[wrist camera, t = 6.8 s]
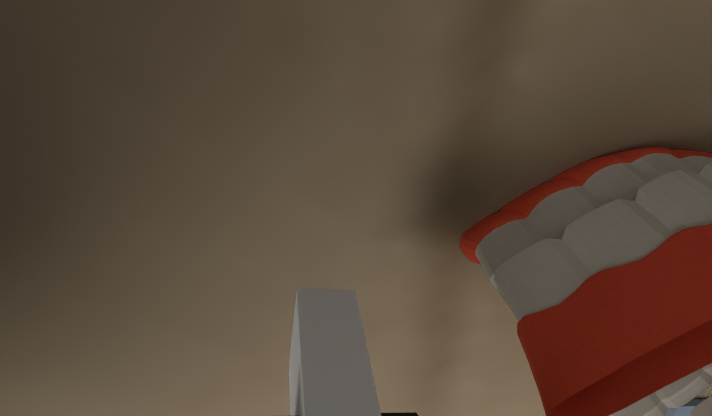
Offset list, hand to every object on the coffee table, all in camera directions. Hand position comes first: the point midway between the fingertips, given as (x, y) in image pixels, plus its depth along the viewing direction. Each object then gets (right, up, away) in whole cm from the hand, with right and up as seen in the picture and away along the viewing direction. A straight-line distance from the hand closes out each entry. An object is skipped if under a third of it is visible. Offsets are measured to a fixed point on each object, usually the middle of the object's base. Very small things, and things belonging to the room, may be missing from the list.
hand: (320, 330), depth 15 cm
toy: (+12, +2, +7) cm, 14 cm away
